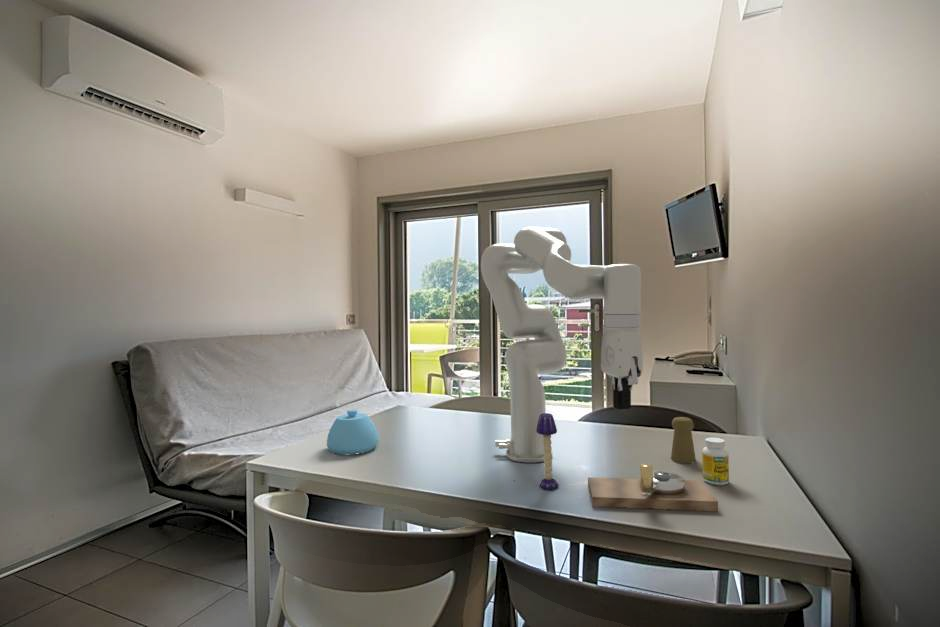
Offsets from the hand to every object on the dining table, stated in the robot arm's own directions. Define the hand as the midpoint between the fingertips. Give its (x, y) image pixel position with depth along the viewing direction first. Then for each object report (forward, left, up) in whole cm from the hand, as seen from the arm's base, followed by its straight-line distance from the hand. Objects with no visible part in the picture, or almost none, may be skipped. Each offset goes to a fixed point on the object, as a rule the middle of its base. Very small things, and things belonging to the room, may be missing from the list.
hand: (622, 407), depth 102 cm
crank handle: (+7, -1, -17) cm, 18 cm away
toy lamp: (-16, +3, -19) cm, 25 cm away
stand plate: (+5, -1, -19) cm, 20 cm away
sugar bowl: (-73, +28, -19) cm, 81 cm away
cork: (+19, +25, -19) cm, 37 cm away
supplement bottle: (+22, +10, -19) cm, 31 cm away
